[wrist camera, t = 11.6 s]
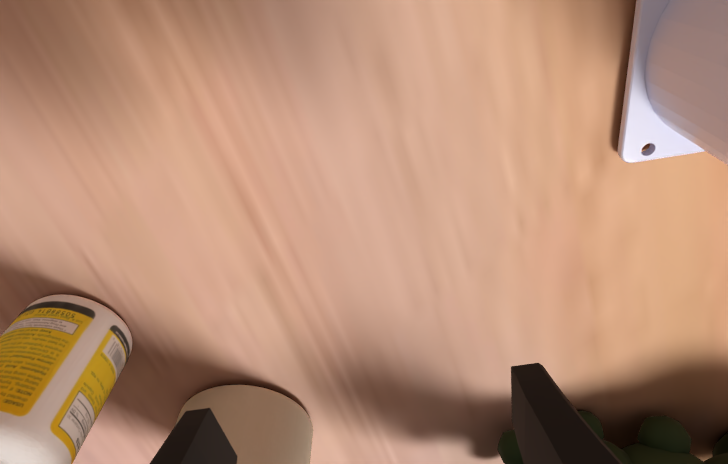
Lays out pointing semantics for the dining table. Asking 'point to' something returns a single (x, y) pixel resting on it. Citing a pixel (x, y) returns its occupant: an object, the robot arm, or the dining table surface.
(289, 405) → the travel mug
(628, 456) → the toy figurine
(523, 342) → the dining table surface
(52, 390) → the supplement bottle
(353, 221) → the dining table surface
